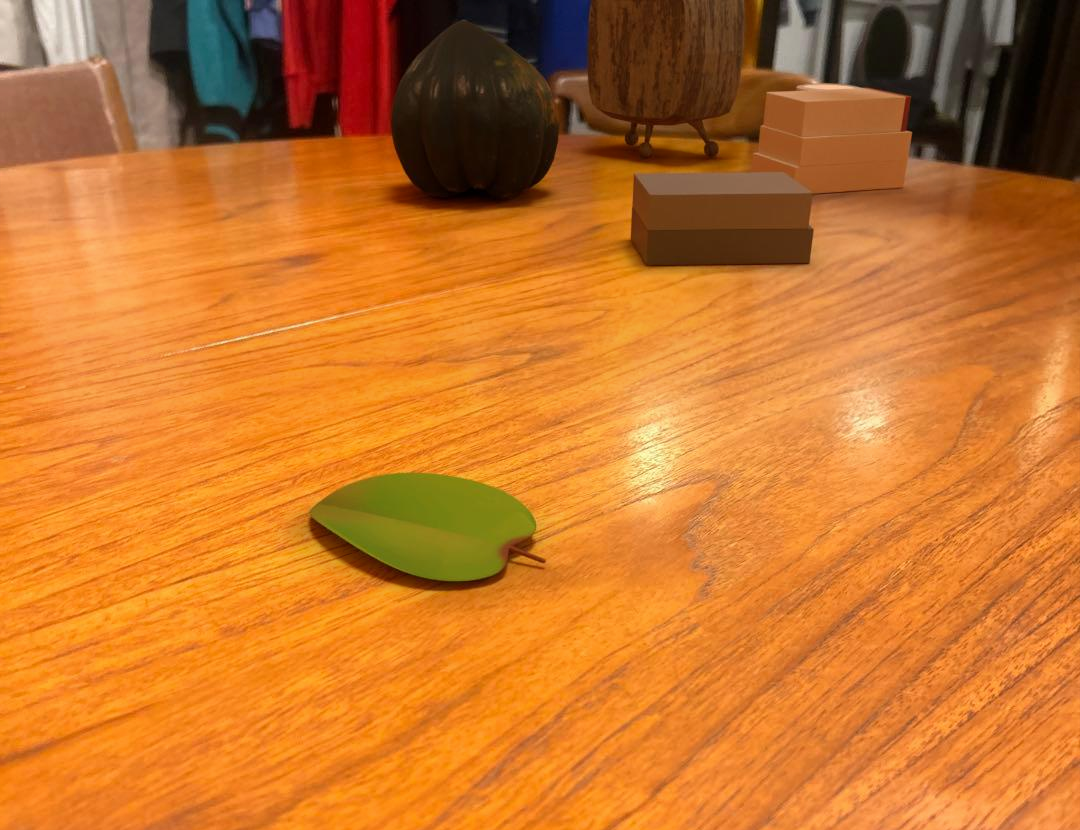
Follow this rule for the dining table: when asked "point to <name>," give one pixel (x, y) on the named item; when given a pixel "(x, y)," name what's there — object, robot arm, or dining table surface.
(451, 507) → the decorative leaf
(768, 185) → the brown box
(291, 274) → the dining table surface
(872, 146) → the orange lidded box
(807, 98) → the tan box
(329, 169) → the dining table surface
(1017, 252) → the dining table surface
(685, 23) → the tabletop clock
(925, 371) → the dining table surface
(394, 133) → the squash
